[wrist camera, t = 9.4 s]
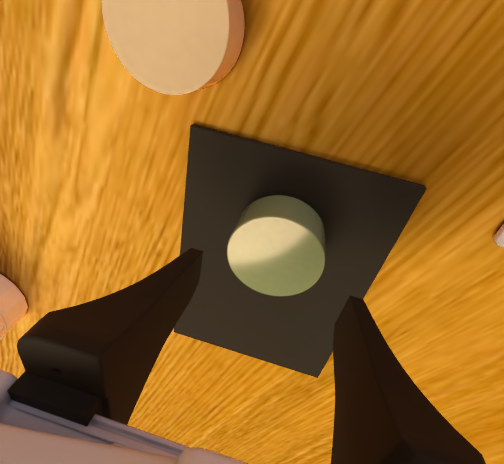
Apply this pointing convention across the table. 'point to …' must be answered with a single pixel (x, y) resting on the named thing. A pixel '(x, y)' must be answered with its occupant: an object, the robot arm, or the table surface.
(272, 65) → the table surface
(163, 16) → the cream cylinder
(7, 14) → the table surface
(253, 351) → the mat
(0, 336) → the pink cup
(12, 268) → the table surface
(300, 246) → the sage green puck
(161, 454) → the robot arm
